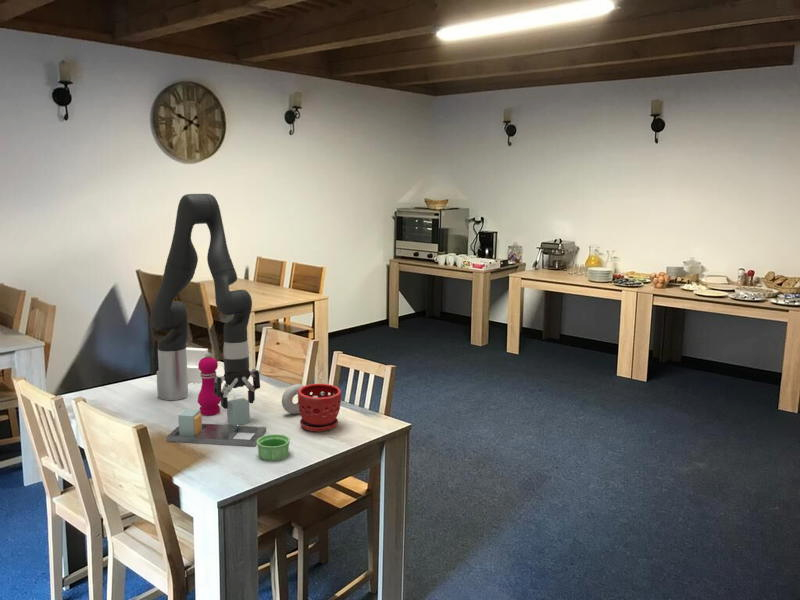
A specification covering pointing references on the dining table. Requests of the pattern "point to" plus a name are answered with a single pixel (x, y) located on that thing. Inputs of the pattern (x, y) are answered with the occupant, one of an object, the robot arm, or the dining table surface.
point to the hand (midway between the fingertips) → (238, 405)
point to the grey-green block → (238, 412)
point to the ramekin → (273, 446)
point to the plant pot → (319, 407)
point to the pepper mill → (208, 386)
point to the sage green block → (190, 422)
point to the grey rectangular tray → (220, 435)
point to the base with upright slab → (194, 364)
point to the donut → (288, 397)
